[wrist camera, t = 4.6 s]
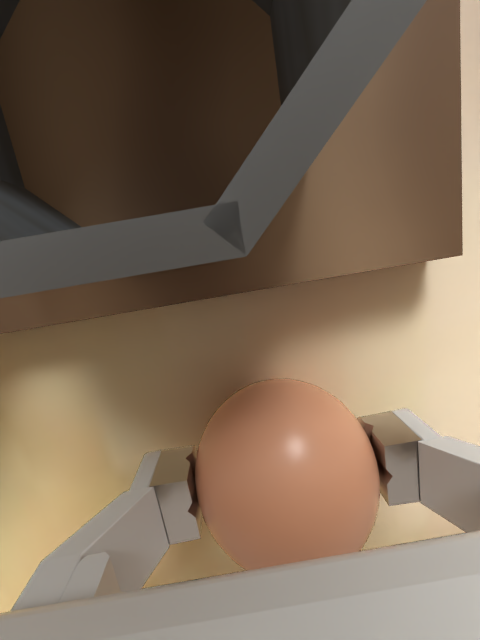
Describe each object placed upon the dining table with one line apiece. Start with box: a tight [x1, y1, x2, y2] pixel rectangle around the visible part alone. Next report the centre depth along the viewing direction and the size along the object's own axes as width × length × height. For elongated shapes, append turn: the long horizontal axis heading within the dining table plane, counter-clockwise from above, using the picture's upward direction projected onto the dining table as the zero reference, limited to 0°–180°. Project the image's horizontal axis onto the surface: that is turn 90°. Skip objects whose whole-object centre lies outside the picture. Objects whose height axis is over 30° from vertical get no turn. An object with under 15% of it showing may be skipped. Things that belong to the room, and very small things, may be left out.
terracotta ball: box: [195, 379, 380, 570], centre depth 9 cm, size 5×5×5 cm
